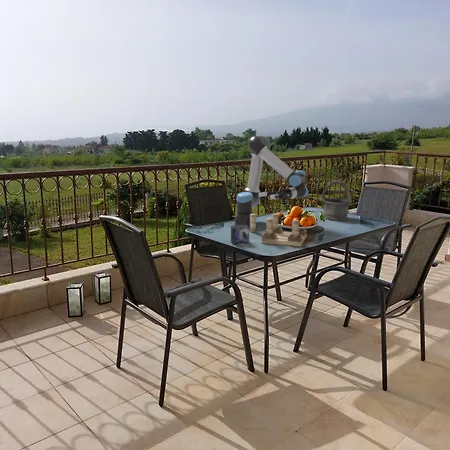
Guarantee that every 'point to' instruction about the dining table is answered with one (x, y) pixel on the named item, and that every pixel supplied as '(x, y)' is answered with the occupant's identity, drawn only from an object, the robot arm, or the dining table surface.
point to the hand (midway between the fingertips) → (264, 195)
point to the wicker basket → (336, 204)
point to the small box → (239, 234)
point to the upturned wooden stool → (283, 233)
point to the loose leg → (252, 222)
